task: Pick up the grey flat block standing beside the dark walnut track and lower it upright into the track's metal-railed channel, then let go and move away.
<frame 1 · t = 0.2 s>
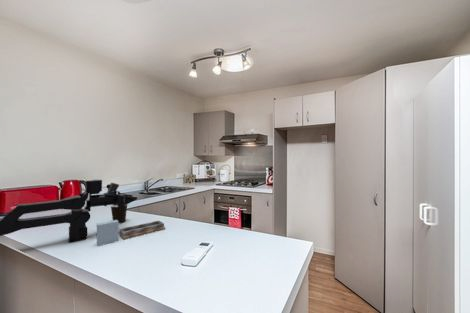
hand: (134, 197, 114), 16 cm above the table, tool horizontal, fingers open, 9 cm apart
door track: (142, 231, 107), on the table
coffee mug: (120, 221, 124), on the table
grey flat block: (107, 242, 94), on the table
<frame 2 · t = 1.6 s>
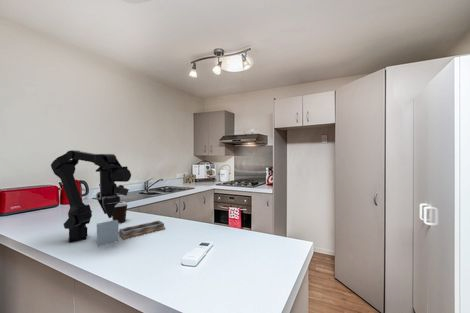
hand: (108, 215, 94), 12 cm above the table, tool pointing down, fingers open, 9 cm apart
nothing on the table moved.
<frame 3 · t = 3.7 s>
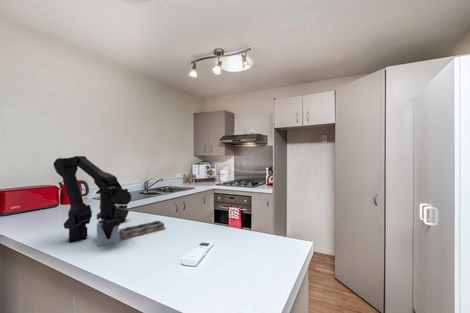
hand: (107, 237, 94), 2 cm above the table, tool pointing down, fingers closed on grey flat block, 3 cm apart
grey flat block: (107, 242, 94), on the table, touching gripper
everything else where it was.
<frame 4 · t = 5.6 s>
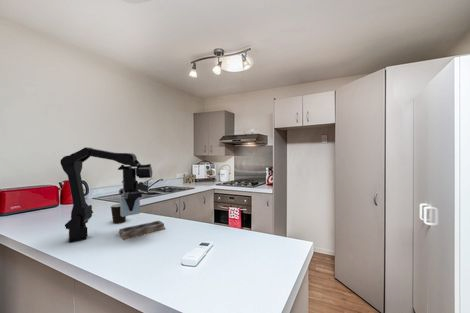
hand: (130, 210, 101), 12 cm above the table, tool pointing down, fingers closed on grey flat block, 3 cm apart
grey flat block: (130, 214, 101), point 10 cm above the table, touching gripper
everything else where it was.
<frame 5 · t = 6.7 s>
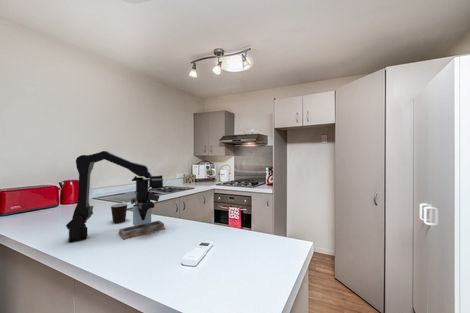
hand: (142, 219, 106), 6 cm above the table, tool pointing down, fingers closed on grey flat block, 3 cm apart
grey flat block: (142, 223, 106), point 4 cm above the table, touching gripper
everything else where it was.
when the fingers open (4 cm above the table, at t = 7.7 s): grey flat block drops 1 cm, resting on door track.
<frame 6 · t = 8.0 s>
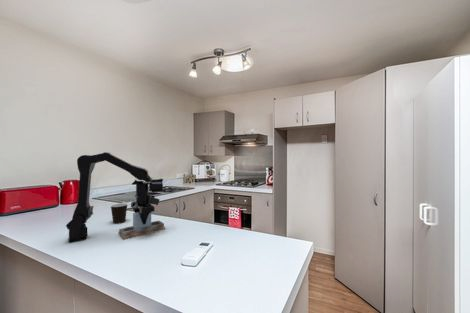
hand: (142, 222, 106), 4 cm above the table, tool pointing down, fingers open, 6 cm apart
grey flat block: (142, 229, 107), point 1 cm above the table, touching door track
everything else where it was.
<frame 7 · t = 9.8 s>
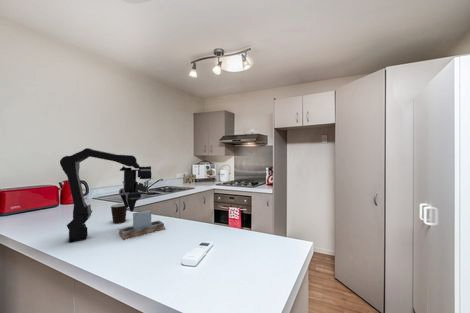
hand: (129, 209, 106), 11 cm above the table, tool pointing down, fingers open, 9 cm apart
nothing on the table moved.
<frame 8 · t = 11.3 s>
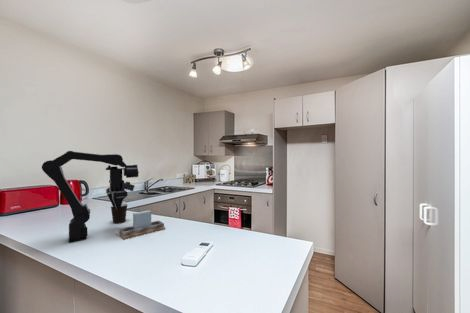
hand: (116, 208, 107), 12 cm above the table, tool pointing down, fingers open, 9 cm apart
nothing on the table moved.
at the end: grey flat block inside the target area on the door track (0.0 cm from its centre), point 1.0 cm above the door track's base; grey flat block tilted 0°; the gripper is holding nothing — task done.
